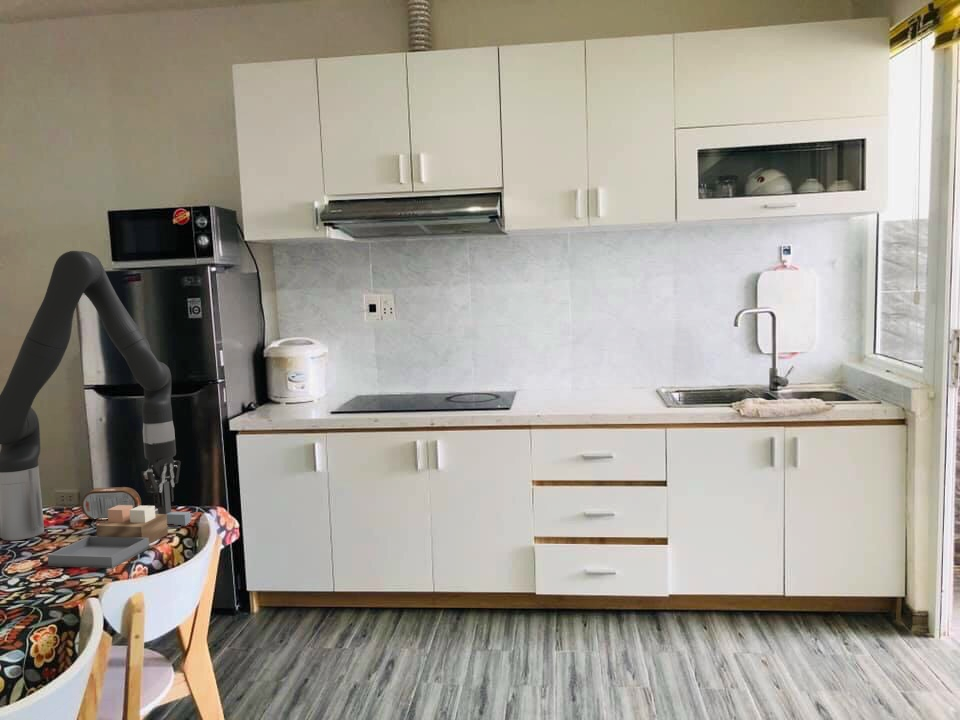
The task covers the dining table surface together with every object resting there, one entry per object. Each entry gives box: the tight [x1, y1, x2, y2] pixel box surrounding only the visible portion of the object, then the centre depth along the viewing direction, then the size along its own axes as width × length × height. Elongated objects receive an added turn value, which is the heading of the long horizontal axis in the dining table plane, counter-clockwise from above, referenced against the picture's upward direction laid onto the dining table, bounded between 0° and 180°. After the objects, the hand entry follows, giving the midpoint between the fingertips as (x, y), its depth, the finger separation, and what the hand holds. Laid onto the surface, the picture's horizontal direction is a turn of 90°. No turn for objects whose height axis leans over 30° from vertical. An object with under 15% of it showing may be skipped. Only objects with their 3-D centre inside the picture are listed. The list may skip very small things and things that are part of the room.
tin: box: [81, 486, 142, 520], centre depth 200 cm, size 15×3×8 cm, turn 92°
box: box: [47, 535, 150, 569], centre depth 170 cm, size 16×13×2 cm
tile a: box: [107, 505, 133, 522], centre depth 181 cm, size 4×4×3 cm
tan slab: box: [95, 514, 169, 545], centre depth 181 cm, size 12×10×5 cm
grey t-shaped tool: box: [155, 482, 192, 527], centre depth 194 cm, size 13×2×11 cm, turn 79°
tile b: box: [129, 504, 156, 523], centre depth 180 cm, size 4×4×3 cm
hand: (164, 503), depth 194 cm, fingers open, 3 cm apart
